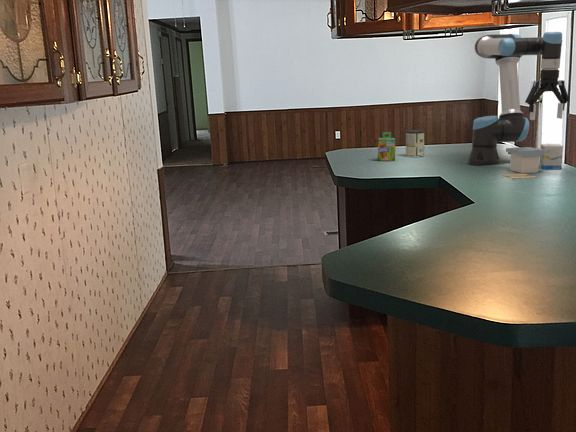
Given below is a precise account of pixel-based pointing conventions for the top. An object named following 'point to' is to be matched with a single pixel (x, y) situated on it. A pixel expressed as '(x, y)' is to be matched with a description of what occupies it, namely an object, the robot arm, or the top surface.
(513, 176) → the mat
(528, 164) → the crate
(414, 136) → the cream miniature cabinet
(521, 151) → the lid
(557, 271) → the top surface
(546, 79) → the robot arm
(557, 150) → the ink box
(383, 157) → the chalk box
